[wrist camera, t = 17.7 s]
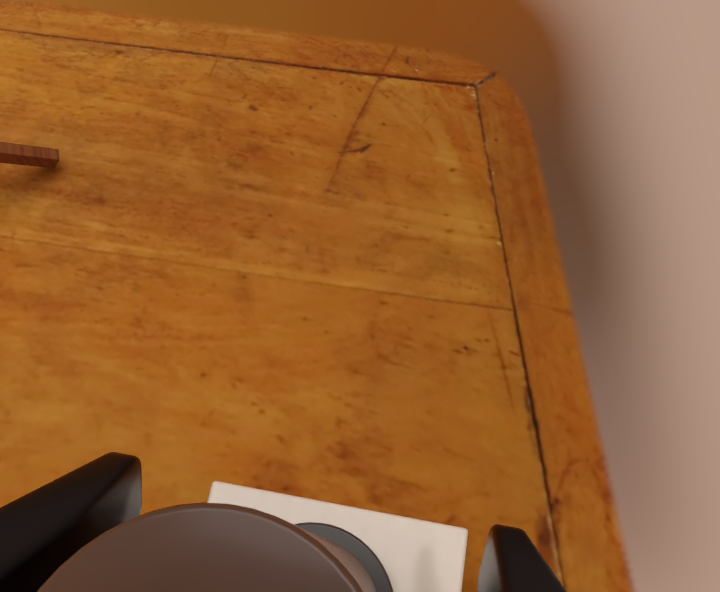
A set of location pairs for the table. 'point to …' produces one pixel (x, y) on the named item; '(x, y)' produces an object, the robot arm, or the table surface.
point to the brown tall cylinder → (220, 555)
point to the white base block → (371, 535)
